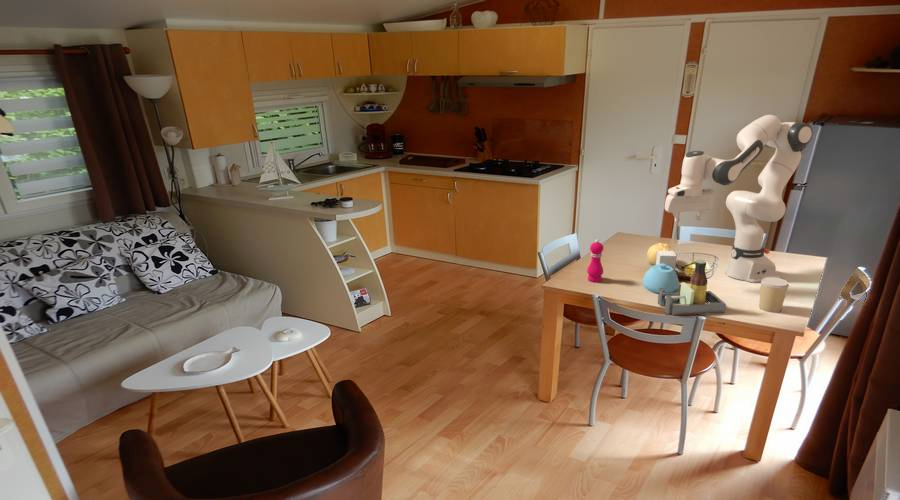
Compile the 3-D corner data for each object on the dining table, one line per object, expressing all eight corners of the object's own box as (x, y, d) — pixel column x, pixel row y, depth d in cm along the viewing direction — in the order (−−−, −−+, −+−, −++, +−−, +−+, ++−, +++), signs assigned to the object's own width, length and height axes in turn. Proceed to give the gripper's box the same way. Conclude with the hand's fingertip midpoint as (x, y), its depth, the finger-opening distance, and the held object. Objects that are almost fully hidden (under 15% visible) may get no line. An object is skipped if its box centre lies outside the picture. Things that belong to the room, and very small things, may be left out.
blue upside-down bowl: (676, 297, 221) (679, 272, 217) (639, 291, 228) (641, 267, 224) (680, 284, 234) (683, 261, 230) (645, 279, 241) (647, 256, 237)
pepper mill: (589, 275, 247) (591, 236, 240) (604, 278, 243) (607, 238, 236) (584, 281, 241) (587, 240, 234) (600, 283, 237) (603, 243, 230)
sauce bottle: (707, 308, 210) (714, 263, 203) (694, 311, 209) (700, 265, 202) (696, 302, 216) (703, 258, 209) (683, 304, 215) (689, 259, 208)
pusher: (681, 301, 216) (684, 282, 213) (691, 311, 208) (694, 291, 205) (660, 302, 216) (662, 283, 213) (669, 312, 208) (671, 292, 205)
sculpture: (674, 268, 251) (677, 247, 248) (649, 268, 253) (651, 247, 249) (668, 259, 262) (670, 239, 258) (643, 259, 263) (645, 239, 260)
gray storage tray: (708, 299, 218) (711, 284, 216) (724, 312, 207) (726, 297, 204) (656, 301, 218) (658, 286, 216) (668, 315, 206) (670, 299, 204)
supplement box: (674, 281, 237) (677, 256, 232) (656, 281, 238) (659, 255, 234) (670, 275, 243) (673, 250, 239) (654, 274, 245) (657, 249, 241)
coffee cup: (771, 302, 214) (777, 275, 210) (789, 312, 205) (794, 284, 201) (751, 304, 213) (756, 277, 208) (767, 314, 204) (773, 286, 200)
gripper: (710, 186, 224) (707, 216, 228) (664, 189, 223) (661, 220, 228) (718, 189, 218) (714, 221, 223) (671, 193, 217) (668, 224, 222)
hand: (687, 220), depth 225 cm, fingers open, 8 cm apart
